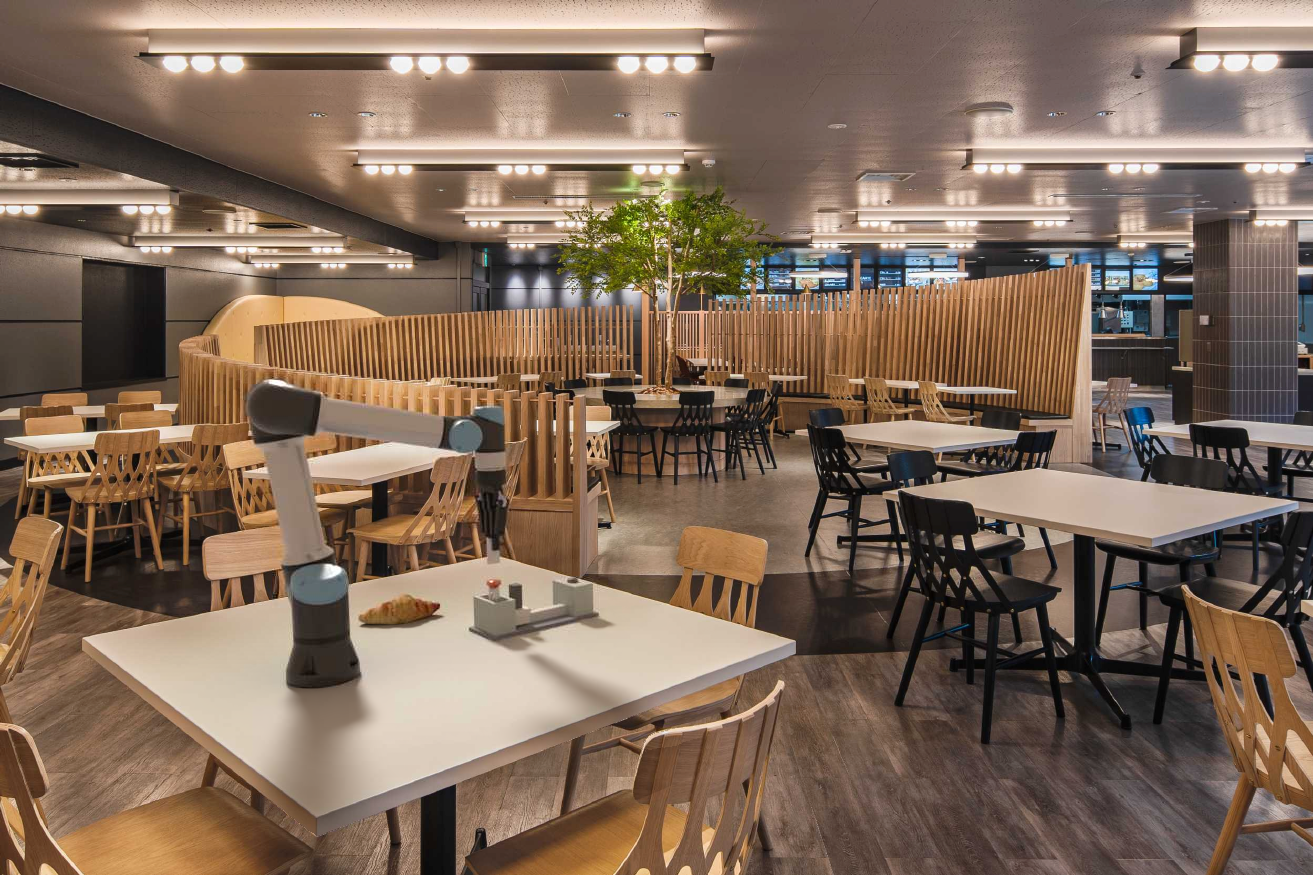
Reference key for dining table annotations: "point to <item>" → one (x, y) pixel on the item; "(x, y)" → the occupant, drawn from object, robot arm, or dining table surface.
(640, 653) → the dining table surface
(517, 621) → the block
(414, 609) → the croissant
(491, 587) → the ball
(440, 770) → the dining table surface
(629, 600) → the dining table surface
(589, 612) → the rail fixture
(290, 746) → the dining table surface
